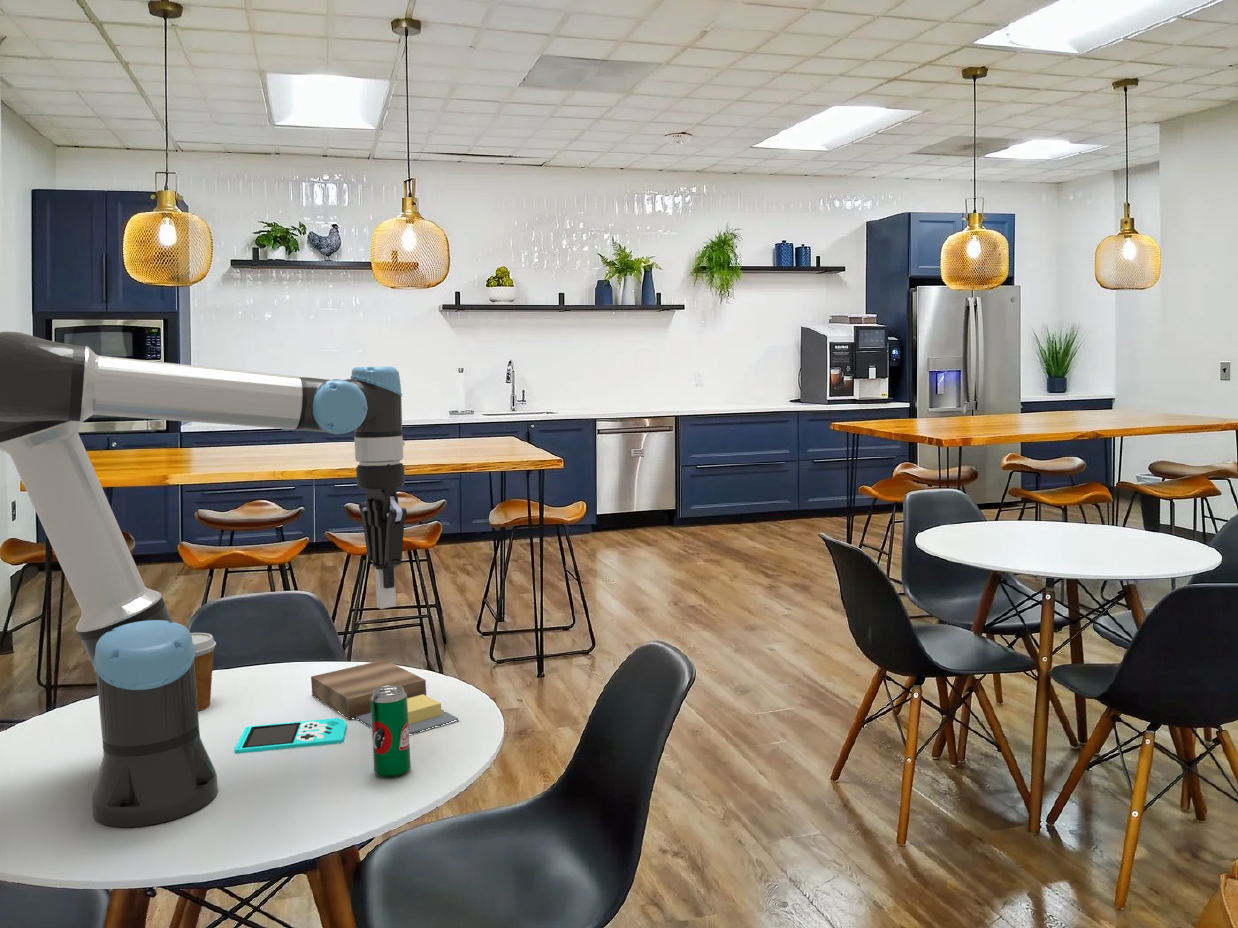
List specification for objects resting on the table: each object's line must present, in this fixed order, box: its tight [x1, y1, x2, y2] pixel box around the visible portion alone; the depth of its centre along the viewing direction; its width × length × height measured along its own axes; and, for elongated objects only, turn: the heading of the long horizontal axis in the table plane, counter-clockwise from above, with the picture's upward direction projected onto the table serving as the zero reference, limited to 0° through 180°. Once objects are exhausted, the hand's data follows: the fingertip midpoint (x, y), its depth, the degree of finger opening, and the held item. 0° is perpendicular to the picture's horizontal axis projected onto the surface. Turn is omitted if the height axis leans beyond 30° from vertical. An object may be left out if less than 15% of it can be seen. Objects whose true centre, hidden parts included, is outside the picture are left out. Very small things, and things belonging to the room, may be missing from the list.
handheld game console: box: [233, 717, 347, 754], centre depth 151 cm, size 10×16×1 cm, turn 101°
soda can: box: [370, 685, 412, 779], centre depth 136 cm, size 5×5×12 cm
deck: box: [310, 659, 427, 720], centre depth 168 cm, size 16×14×4 cm
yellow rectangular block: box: [407, 694, 442, 724], centre depth 157 cm, size 6×9×2 cm, turn 130°
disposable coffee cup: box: [190, 632, 217, 712], centre depth 166 cm, size 10×10×12 cm
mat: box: [355, 708, 460, 735], centre depth 157 cm, size 13×12×1 cm
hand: (386, 606), depth 157 cm, fingers closed
